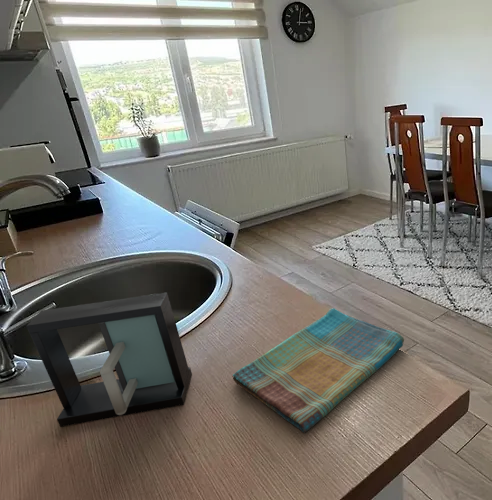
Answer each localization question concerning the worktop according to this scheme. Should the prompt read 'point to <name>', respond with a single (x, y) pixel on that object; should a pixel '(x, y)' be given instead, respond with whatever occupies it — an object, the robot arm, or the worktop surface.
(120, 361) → the pane
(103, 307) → the window frame
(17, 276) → the worktop surface
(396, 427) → the worktop surface
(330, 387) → the dish towel
